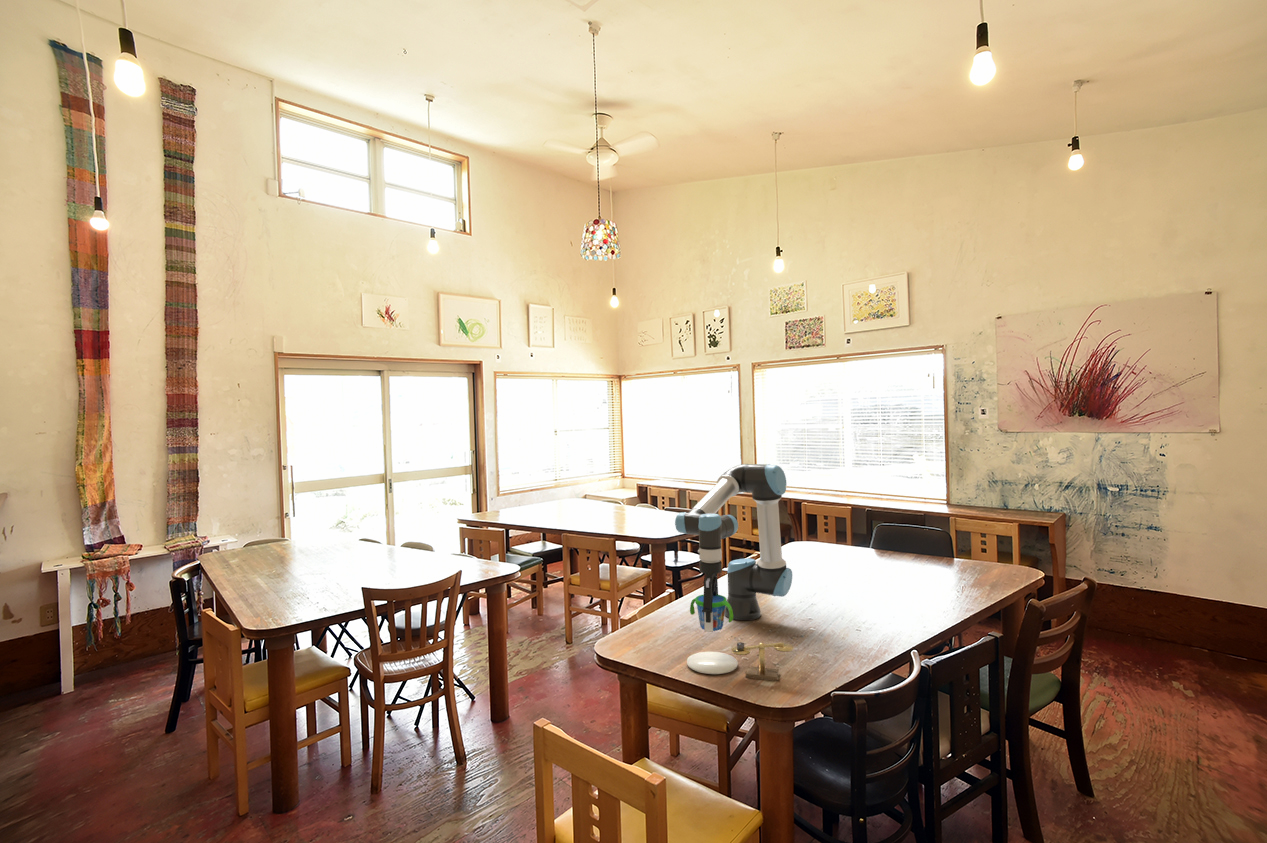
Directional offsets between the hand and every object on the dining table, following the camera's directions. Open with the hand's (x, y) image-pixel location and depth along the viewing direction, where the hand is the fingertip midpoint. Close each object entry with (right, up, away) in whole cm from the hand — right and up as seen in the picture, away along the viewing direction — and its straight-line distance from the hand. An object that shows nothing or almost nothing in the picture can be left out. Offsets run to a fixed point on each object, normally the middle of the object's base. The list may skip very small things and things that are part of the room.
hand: (711, 626), depth 204 cm
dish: (0, -13, 0) cm, 13 cm away
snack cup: (0, -1, 0) cm, 1 cm away
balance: (+15, -13, -9) cm, 22 cm away
